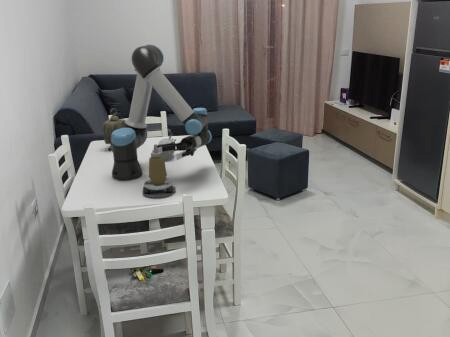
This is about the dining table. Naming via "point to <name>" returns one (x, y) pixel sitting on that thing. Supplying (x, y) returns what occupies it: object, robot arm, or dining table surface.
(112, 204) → the dining table surface
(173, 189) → the base
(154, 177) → the squeeze bottle
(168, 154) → the device
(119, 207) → the dining table surface
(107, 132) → the olive green container
